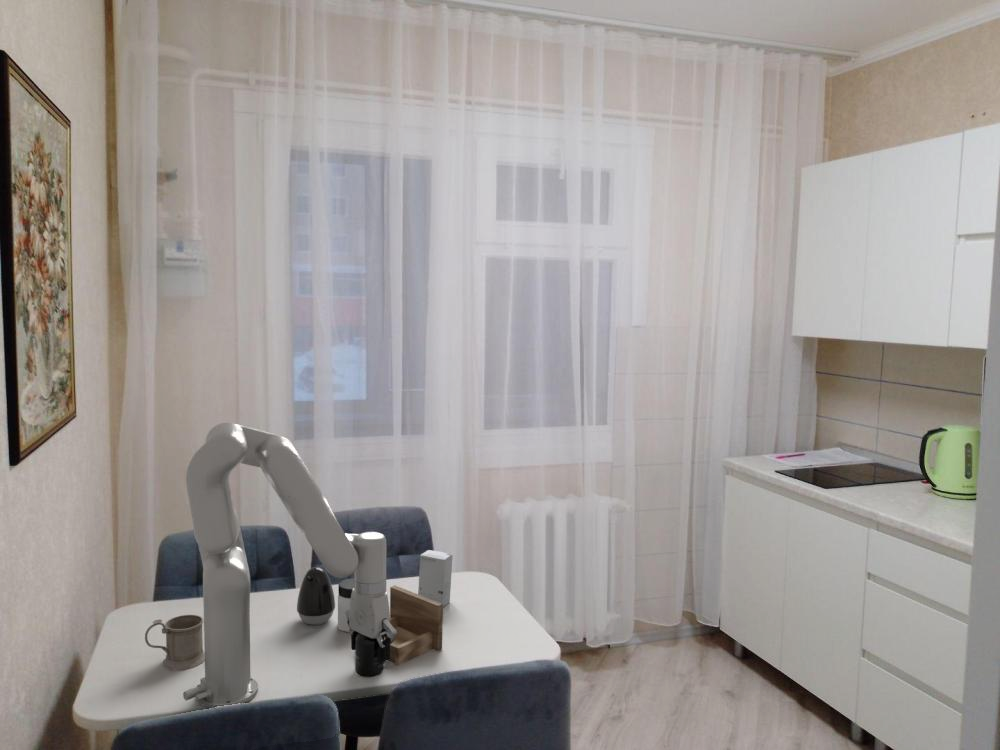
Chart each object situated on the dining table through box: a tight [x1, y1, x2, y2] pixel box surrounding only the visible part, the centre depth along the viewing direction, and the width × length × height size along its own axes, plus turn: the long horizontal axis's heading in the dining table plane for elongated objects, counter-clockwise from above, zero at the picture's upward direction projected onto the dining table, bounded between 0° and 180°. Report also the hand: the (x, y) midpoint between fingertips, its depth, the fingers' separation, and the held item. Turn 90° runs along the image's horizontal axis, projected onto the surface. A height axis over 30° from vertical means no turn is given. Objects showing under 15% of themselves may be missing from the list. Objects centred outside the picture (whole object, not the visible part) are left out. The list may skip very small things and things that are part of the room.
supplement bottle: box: [354, 632, 385, 678], centre depth 178 cm, size 7×7×12 cm
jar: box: [337, 577, 354, 634], centre depth 202 cm, size 9×8×12 cm
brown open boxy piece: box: [384, 584, 444, 667], centre depth 190 cm, size 13×18×12 cm
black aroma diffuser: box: [296, 566, 336, 626], centre depth 204 cm, size 10×10×15 cm
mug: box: [144, 614, 205, 671], centre depth 179 cm, size 14×10×12 cm
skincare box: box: [417, 549, 454, 608], centre depth 218 cm, size 8×6×15 cm
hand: (370, 654), depth 178 cm, fingers open, 9 cm apart
